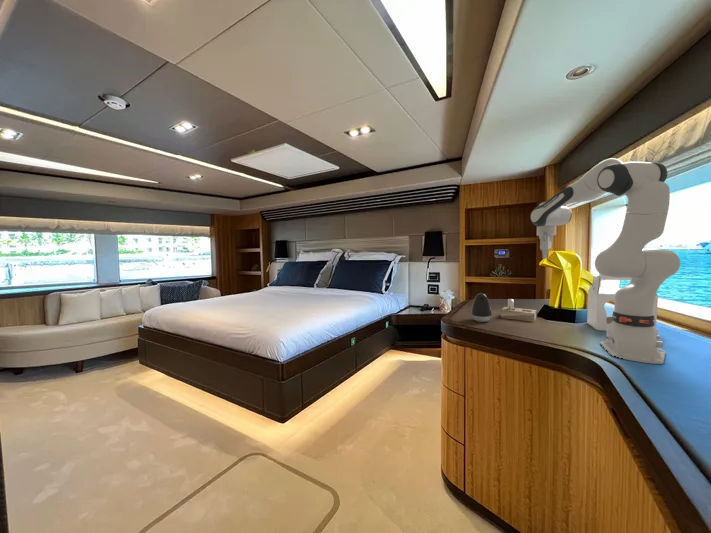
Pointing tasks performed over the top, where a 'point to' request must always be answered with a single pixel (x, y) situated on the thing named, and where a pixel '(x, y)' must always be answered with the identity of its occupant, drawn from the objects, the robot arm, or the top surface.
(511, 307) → the peg
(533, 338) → the top surface
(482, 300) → the dark grey egg speaker
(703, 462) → the top surface
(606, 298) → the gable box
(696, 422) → the top surface
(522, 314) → the hole block
